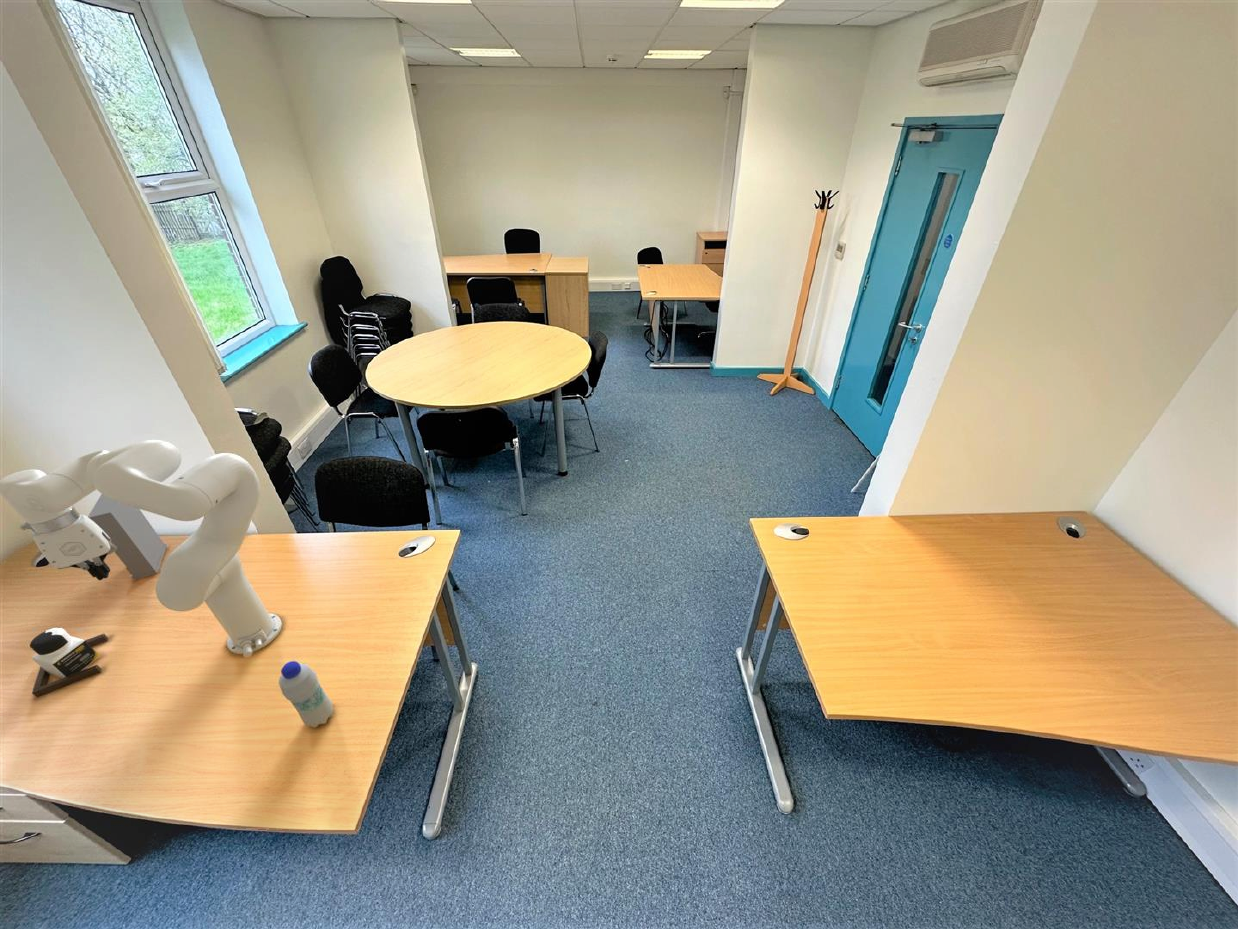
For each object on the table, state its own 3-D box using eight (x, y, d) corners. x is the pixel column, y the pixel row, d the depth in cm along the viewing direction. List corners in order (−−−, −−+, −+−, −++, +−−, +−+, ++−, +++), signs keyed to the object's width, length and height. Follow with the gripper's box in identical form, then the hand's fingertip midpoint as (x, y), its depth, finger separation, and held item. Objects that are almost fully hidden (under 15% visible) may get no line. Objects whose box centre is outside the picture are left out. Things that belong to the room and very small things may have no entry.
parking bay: (101, 672, 123) (96, 667, 122) (37, 698, 118) (31, 693, 117) (108, 637, 132) (104, 633, 131) (48, 660, 126) (43, 655, 125)
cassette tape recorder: (144, 553, 160) (98, 493, 146) (167, 547, 162) (124, 487, 148) (133, 581, 149) (83, 519, 136) (157, 574, 152) (111, 512, 138)
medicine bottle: (70, 680, 122) (38, 651, 115) (49, 674, 123) (16, 645, 116) (101, 656, 127) (72, 627, 121) (81, 651, 129) (51, 621, 122)
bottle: (328, 697, 118) (298, 647, 107) (341, 714, 114) (311, 664, 103) (299, 718, 113) (264, 668, 102) (312, 737, 110) (277, 687, 99)
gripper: (4, 542, 105) (61, 599, 115) (96, 515, 112) (141, 571, 122) (13, 524, 110) (66, 580, 120) (100, 499, 117) (143, 554, 127)
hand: (104, 575), depth 121 cm, fingers closed
